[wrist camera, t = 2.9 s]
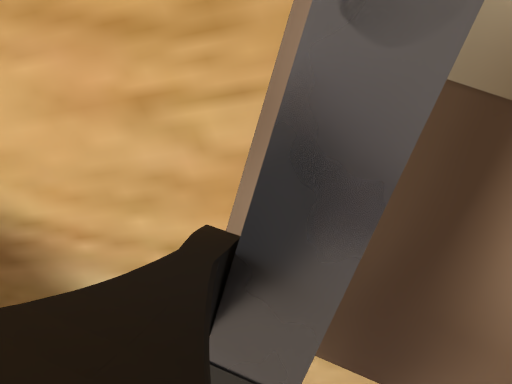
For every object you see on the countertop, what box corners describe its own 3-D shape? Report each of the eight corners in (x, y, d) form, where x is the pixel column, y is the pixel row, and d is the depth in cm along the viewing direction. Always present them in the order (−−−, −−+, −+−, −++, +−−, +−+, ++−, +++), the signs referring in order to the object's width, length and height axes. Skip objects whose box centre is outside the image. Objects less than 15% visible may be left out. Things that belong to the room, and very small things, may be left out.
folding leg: (354, -84, 8) (347, -127, 6) (483, -50, 8) (527, -80, 5) (222, 327, 13) (190, 391, 11) (297, 359, 12) (280, 432, 10)
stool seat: (892, 37, 8) (1086, 41, 6) (553, 400, 14) (590, 477, 11) (346, -113, 10) (338, -154, 8) (228, 266, 15) (202, 309, 13)
